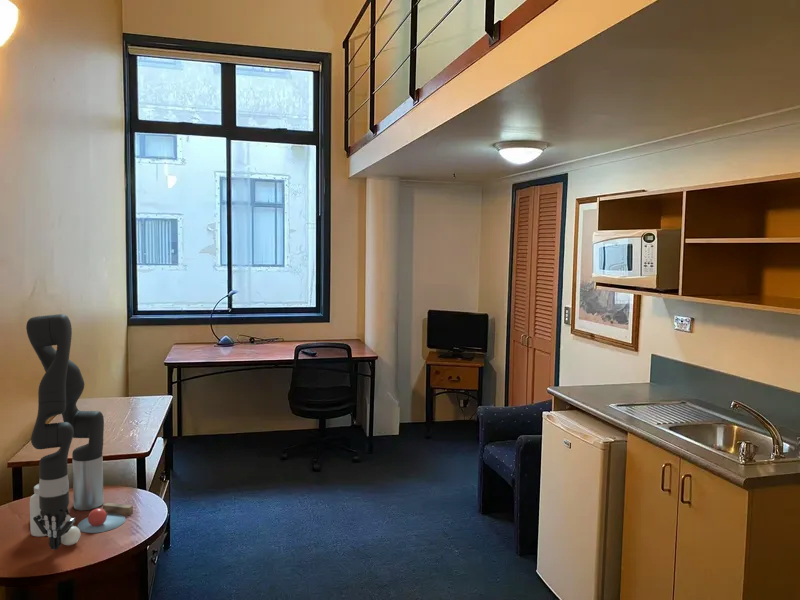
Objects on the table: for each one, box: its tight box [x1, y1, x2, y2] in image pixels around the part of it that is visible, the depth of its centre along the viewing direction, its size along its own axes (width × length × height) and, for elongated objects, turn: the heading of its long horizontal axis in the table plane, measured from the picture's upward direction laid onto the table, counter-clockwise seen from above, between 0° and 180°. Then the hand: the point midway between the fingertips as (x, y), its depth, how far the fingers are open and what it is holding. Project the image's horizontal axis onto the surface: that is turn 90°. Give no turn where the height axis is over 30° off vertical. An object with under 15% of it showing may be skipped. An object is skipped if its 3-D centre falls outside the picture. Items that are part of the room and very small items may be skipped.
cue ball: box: [61, 525, 82, 546], centre depth 179 cm, size 6×6×6 cm
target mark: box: [77, 513, 126, 534], centre depth 194 cm, size 14×14×1 cm
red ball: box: [87, 507, 107, 526], centre depth 192 cm, size 6×6×6 cm
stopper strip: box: [102, 502, 134, 516], centre depth 202 cm, size 10×2×2 cm, turn 79°
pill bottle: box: [29, 483, 48, 537], centre depth 187 cm, size 8×8×15 cm
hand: (55, 548), depth 174 cm, fingers closed
